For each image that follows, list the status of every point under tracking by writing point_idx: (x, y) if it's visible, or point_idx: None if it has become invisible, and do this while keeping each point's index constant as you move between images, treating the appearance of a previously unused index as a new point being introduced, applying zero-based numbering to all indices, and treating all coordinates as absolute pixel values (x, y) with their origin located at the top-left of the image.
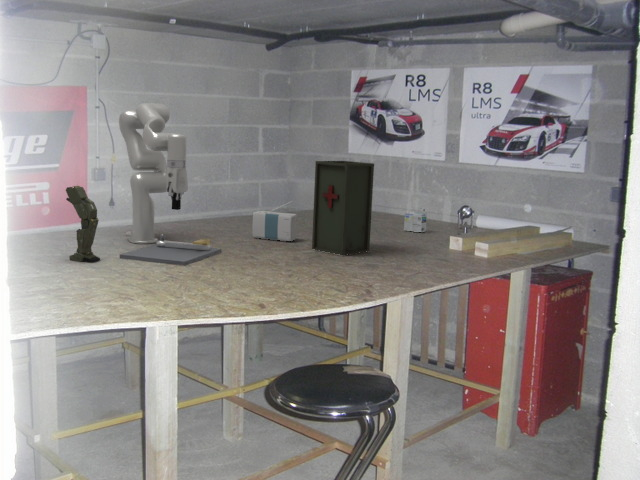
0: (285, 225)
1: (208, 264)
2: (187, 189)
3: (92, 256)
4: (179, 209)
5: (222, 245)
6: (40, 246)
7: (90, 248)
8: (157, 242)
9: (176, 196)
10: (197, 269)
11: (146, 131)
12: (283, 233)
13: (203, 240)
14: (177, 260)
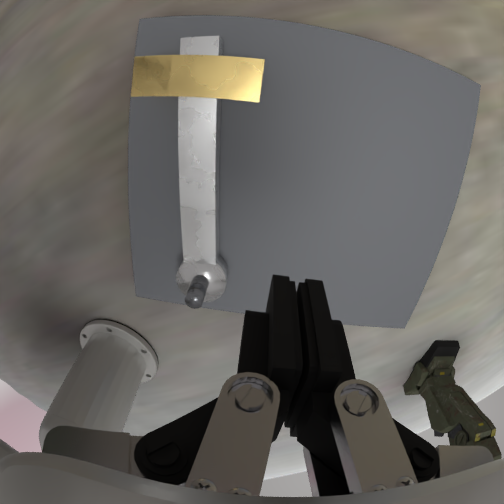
0: None
1: (424, 2)
2: (2, 475)
3: (444, 359)
4: (287, 278)
5: (25, 102)
6: (292, 458)
7: (436, 382)
8: (222, 292)
9: (396, 438)
10: (500, 39)
11: None
12: None
13: (190, 65)
14: (470, 114)
